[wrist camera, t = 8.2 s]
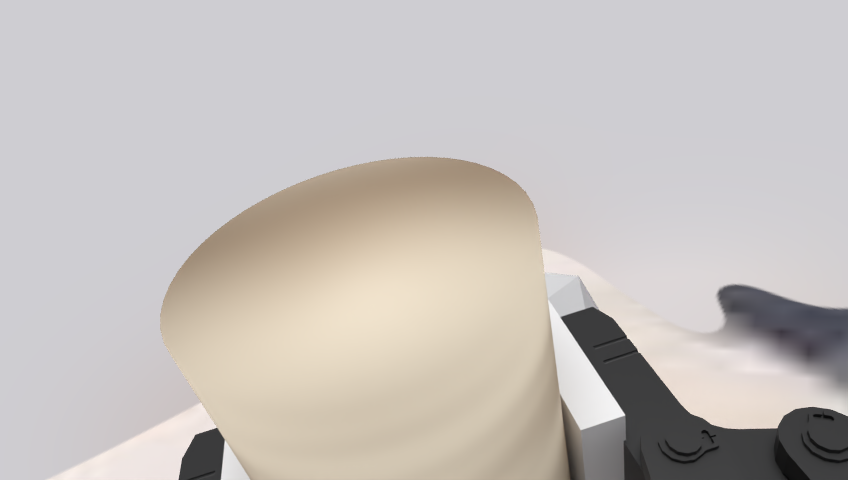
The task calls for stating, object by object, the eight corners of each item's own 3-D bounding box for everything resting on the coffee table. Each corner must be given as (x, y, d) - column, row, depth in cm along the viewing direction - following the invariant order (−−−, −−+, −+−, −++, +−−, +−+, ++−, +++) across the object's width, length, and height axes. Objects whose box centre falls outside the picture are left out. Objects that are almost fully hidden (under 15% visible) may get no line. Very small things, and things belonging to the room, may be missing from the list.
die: (518, 533, 24) (658, 383, 20) (365, 404, 26) (462, 242, 22) (562, 430, 31) (672, 303, 27) (438, 334, 33) (523, 202, 29)
